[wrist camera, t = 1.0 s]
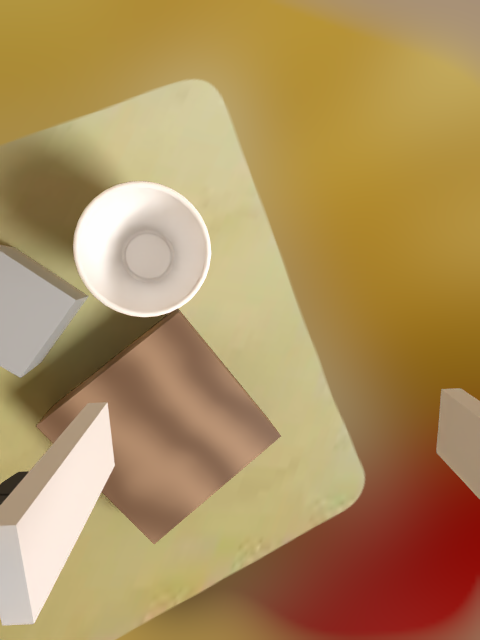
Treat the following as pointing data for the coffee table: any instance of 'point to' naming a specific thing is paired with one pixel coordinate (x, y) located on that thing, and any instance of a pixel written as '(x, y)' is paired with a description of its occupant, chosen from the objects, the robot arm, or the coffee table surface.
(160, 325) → the walnut block
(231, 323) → the coffee table surface
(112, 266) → the cup
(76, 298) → the grey block
